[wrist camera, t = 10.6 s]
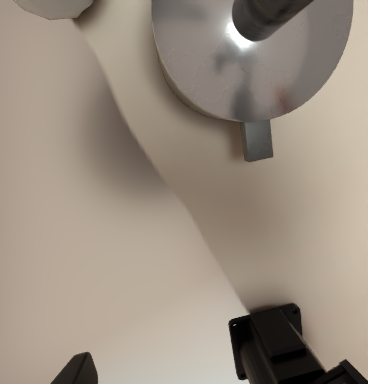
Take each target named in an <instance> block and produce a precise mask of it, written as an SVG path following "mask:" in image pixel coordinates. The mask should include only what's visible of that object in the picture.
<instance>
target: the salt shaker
mask: <svg viewBox="0 0 368 384" xmlns="http://www.w3.org/2000/svg"><path fill="white" fill-rule="evenodd" d="M13 1H14V2H15V3H17V4H18V5H19V6H20V7H21V8H22V9H24V10H26V11H28V12H31V13H33V14H36V15H39V16H41V17H44V18H46V19H49V20H55V19H65V18H78V16H79V15H80V14H81V13H82V12H83V10H85V9H86V8H87V7H89V6H90V5H91V4H92V2H93V0H13Z"/></svg>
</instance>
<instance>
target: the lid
mask: <svg viewBox="0 0 368 384" xmlns="http://www.w3.org/2000/svg"><path fill="white" fill-rule="evenodd" d="M352 15H353V0H152V25H153V33H154V38H155V42H156V46H157V50H158V53H159V55H160V58H161V61H162V63H163V65H164V67H165V69H166V71H167V73H168V75H169V76H170V78H171V79H172V81H173V82H174V84H175V85H176V86H177V88H178V89H179V90H180V91H181V92H182V93H183V94H184V95H185V96H186V97H187V98H188V99H189V100H190V101H191V102H192V103H194V104H195V105H196V106H198V107H199V108H201V109H203V110H204V111H206V112H208V113H210V114H212V115H214V116H217V117H220V118H223V119H226V120H232V121H238V122H253V121H261V120H268V119H272V118H276V117H279V116H282V115H284V114H286V113H289V112H291V111H293V110H294V109H296V108H298V107H300V106H301V105H303V104H304V103H305V102H307V101H308V100H309V99H310V98H312V97H313V96H314V95H315V94H316V93H317V92H318V91H319V90H320V89H321V88H322V86H323V85H324V84H325V83H326V81H327V80H328V79H329V77H330V76H331V74H332V73H333V71H334V70H335V68H336V66H337V64H338V62H339V60H340V58H341V56H342V54H343V51H344V49H345V46H346V43H347V40H348V36H349V32H350V28H351V22H352Z"/></svg>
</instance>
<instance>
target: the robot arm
mask: <svg viewBox="0 0 368 384" xmlns="http://www.w3.org/2000/svg"><path fill="white" fill-rule="evenodd" d="M293 310H294V311H293ZM234 324H236V325H235V326H233V325H234ZM228 325H229V331H230V336H231V343H232V349H233V355H234V361H235V368H236V373H237V376H238V379H239V380H245V379H248V380H249V383H250V384H368V381H367V380H366V379H365V378H364V377H363V376H362V375H361V374H360V373H359V372H358V371H357V370H356V369H355V368H354V367H353V366H352V365H351V364H350V363H349V362H348V361H347V360H346V359H345V360H343V361H342V362H340V363H339V364H340V365H338V366H336V367H334V368H333V369H331V370H329V371H328V372H327V371H326V369H325V368H324V367H323V365H322V364H321V363H320V361H319V360H318V358H317V357H316V356H315V354H314V353H313V352H312V350H311V349H310V347H309V346H308V345H307V343H306V342H305V341H304V339H303V338H302V325H301V313H300V309H299V307H298V306H297V305H296V304H291V305H287V306H283V307H279V308H275V309H271V310H266V311H262V312H258V313H254V314H250V315H246V316H242V317H238V318H234V319H231V320H230V321H229V324H228ZM51 384H98V375H97V371H96V368H95V365H94V362H93V359H92V356H91V354H90V353H89V352H84V353H81V354H77V355H75V356H74V357H73V358H72V359H71V360H70V361H69V362H68V363H67V365H66V366H65V367H64V368H63V369H62V371H61V372H60V373H59V374H58V375H57V377H56V378H55V379H54V380H53V381H52V382H51Z"/></svg>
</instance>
